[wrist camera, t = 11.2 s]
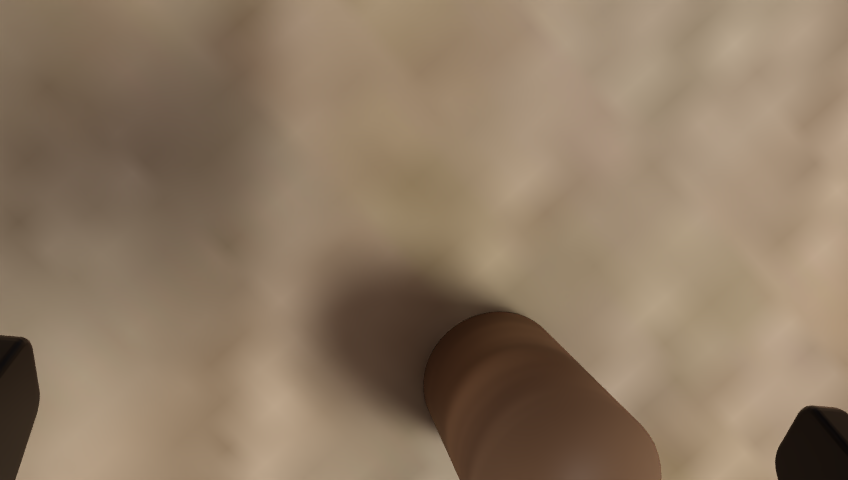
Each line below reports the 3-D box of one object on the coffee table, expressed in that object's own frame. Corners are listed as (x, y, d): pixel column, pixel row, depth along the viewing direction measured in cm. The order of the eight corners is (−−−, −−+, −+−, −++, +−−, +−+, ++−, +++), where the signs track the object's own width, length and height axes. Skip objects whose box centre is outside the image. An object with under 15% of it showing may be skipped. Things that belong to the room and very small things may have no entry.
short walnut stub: (428, 456, 22) (483, 593, 17) (418, 322, 21) (471, 417, 16) (564, 434, 23) (662, 559, 17) (559, 302, 22) (660, 388, 16)
